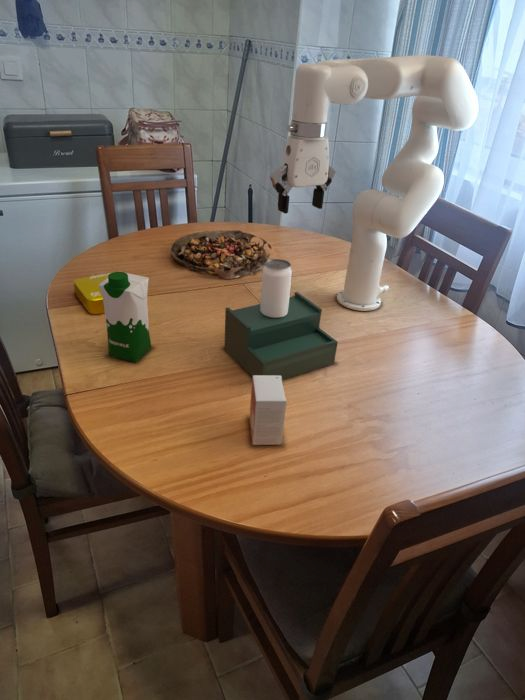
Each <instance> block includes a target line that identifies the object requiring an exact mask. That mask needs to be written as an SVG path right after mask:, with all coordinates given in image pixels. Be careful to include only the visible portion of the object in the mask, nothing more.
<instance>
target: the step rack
mask: <svg viewBox="0 0 525 700" xmlns="http://www.w3.org/2000/svg"><path fill="white" fill-rule="evenodd" d="M260 304H261V303H258V304H254V305H249V306H245V307H241V308H236V309H231V308H230V307H225V311H224V313H225V314H224V315H225V316H224V347H223V348H224V350H225V351H226V352H227V353H228V354H229V355H230V356H231V357H232V358H233V359H234V361H236V362H237V363H238V364H239V365H240V366H241V368H242V369H244V370H245V372H247V373H248V374H249V376H250V377H252V376H253V375H276V376H282V381H284V380H288V379H290V378H293V377H296V376H299V375H302V374H305V373H309V372H312V371H315V370H318V369H321V368H324V367H328V366H330V365H334V364H335V360H336V356H337V350H338V349H337V348H338V340H336V339H335V338H334V337H332V336H331V335H330V334H328V333H327V332H325V330H323V329H322V328H320V326H321V325H320V324H321V318H322V317H321V316H322V308H321V307H320V306H318V305H317V304H315V303H314V302H312V301H311V300H309V299H308V298H306V296H304V295H302V294H301V293H299V292H298V291H296V292H294V296H290V297H289V307H288V313H287V315H285V316H284V317H281V318H269V317H266V316H264V315H263V314H262V313H261V311H260Z"/></svg>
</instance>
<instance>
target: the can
mask: <svg viewBox="0 0 525 700" xmlns="http://www.w3.org/2000/svg"><path fill="white" fill-rule="evenodd" d="M291 266H292V264H291V263H290V261H288V260H286V259H282V258H271V259H267V261H266V262H265V266H264V267H263V269H262V274H261V290H260V303H259V304H260V311H261V313H262V314H263V315H264V316H266V317H269V318H281V317H284V316H285V315H287V313H288V307H289V297H291V296H290V295H291V286H292V275H293V271H292V268H291Z"/></svg>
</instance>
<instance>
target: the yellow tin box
mask: <svg viewBox="0 0 525 700" xmlns="http://www.w3.org/2000/svg"><path fill="white" fill-rule="evenodd" d="M113 272H114V271H110V272H106V273H105V272H104V273H99V274H94V275H89V276H83V277H78V278H77V277H76V278H75V279H74V280H73V286H74V293H75V296H76V297H77V298H78V300H79V301H80V302H81V304H82V305H83V306H84V308H85V309H86V311H87V312H88V313H89V314H91V315H101V314H105V310H104V302H103V297H102V294H101V291H100V288H99V284H100V283H101V282H103V281H104V280H106V279H107V278H108V275H109V274H110V273H113ZM115 272H124V273H128V272H127V271H125V270H117V271H115Z"/></svg>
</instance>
